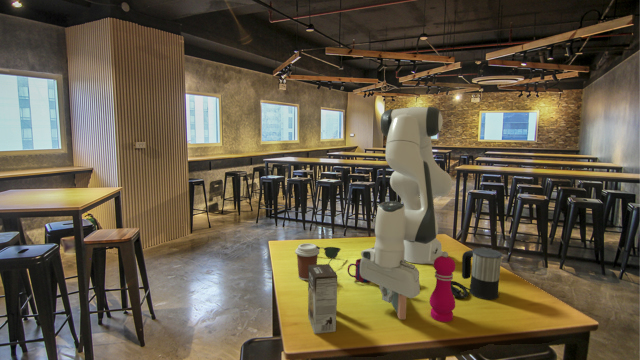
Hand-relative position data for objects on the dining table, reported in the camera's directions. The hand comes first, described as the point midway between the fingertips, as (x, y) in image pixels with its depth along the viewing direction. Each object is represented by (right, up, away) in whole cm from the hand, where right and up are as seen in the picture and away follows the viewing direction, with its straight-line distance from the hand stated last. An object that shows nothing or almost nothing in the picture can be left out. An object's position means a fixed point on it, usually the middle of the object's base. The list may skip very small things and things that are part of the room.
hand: (387, 300), depth 108 cm
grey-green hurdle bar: (+3, -2, +5) cm, 6 cm away
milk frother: (+32, -3, +14) cm, 34 cm away
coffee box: (-20, -5, -7) cm, 22 cm away
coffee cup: (-25, 0, +27) cm, 37 cm away
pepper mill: (+16, -4, -2) cm, 16 cm away
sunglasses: (-21, +1, +42) cm, 47 cm away
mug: (-5, -1, +25) cm, 26 cm away
